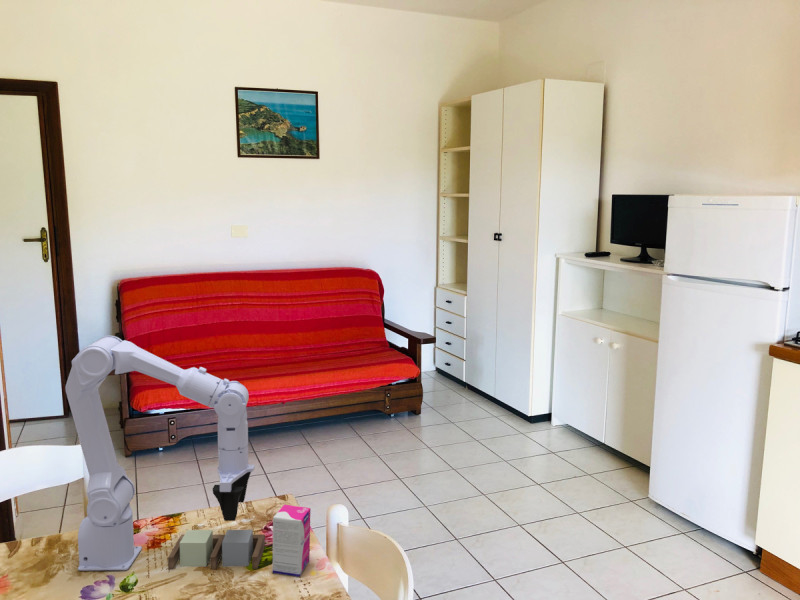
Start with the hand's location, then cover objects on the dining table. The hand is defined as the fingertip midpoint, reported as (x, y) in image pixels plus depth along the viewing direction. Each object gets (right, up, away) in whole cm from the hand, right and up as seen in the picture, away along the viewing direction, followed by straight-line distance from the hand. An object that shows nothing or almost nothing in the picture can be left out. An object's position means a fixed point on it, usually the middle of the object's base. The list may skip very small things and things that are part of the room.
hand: (234, 510), depth 128 cm
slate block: (+1, -10, 0) cm, 10 cm away
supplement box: (+12, -10, -3) cm, 16 cm away
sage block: (-7, -10, -1) cm, 12 cm away
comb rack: (-3, -10, 0) cm, 10 cm away
